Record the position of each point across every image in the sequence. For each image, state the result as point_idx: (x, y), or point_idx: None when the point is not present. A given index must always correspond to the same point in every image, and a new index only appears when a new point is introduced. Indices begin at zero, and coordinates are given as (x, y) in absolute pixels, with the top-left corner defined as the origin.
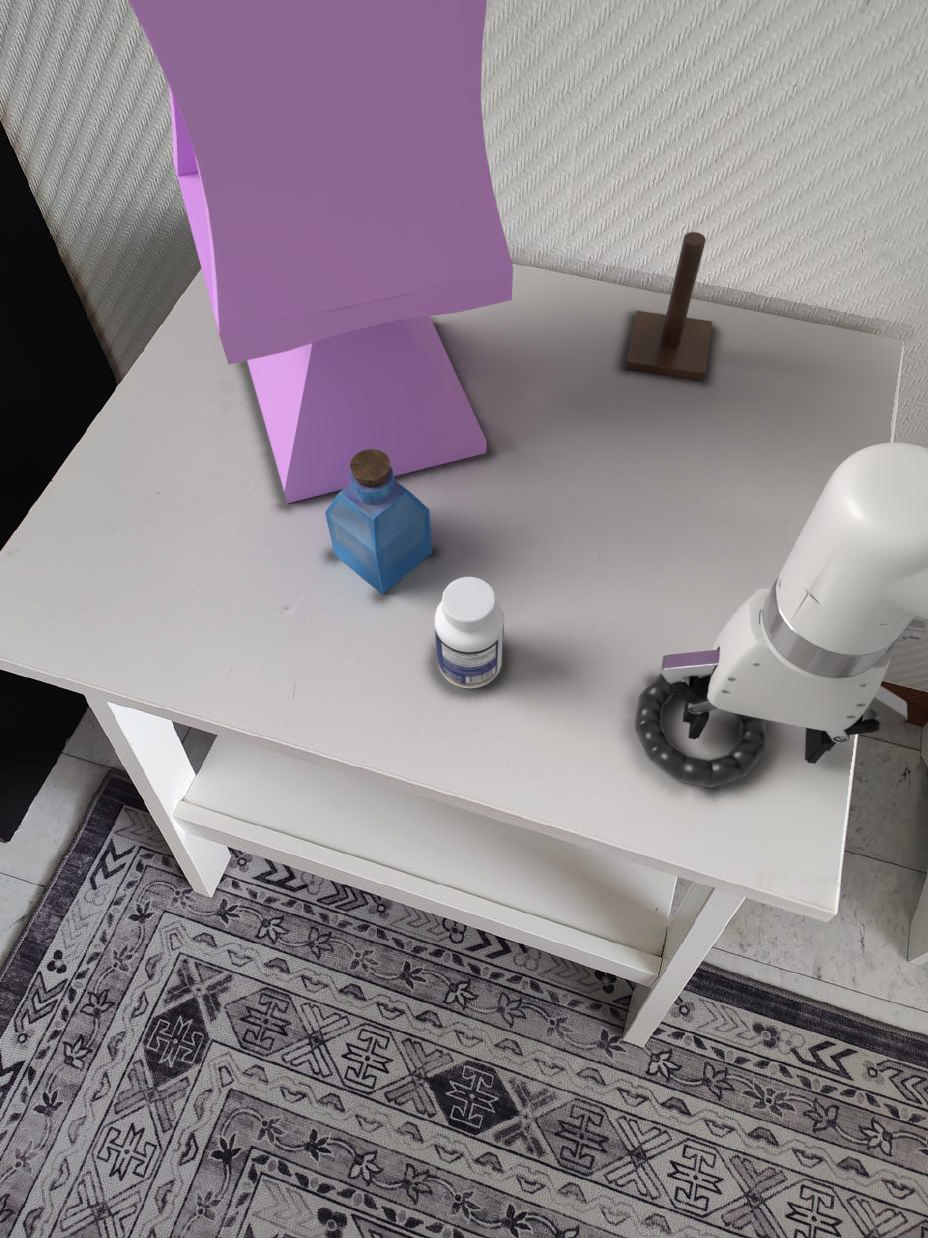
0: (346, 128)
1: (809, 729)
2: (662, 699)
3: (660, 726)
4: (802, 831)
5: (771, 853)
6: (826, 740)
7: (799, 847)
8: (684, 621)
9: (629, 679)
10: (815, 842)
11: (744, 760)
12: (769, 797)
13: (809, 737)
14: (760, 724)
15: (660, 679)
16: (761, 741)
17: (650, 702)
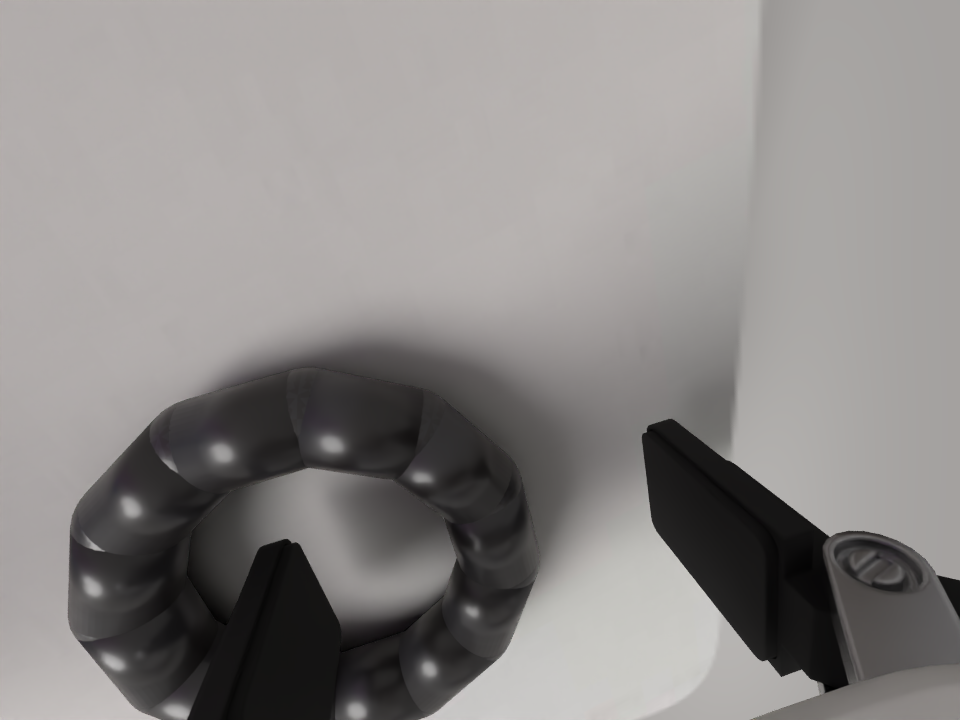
0: None
1: (665, 473)
2: (147, 612)
3: None
4: (657, 615)
5: (603, 681)
6: (788, 667)
7: (655, 644)
8: (19, 151)
9: (20, 513)
10: (685, 619)
11: (496, 646)
12: (574, 593)
13: (669, 499)
14: (507, 527)
15: (80, 562)
16: (526, 570)
17: (110, 658)
